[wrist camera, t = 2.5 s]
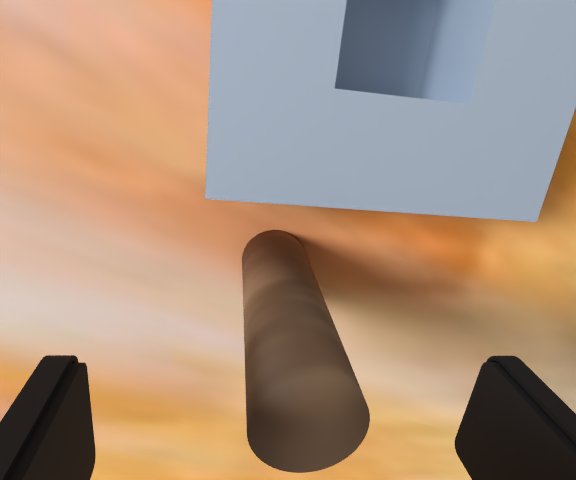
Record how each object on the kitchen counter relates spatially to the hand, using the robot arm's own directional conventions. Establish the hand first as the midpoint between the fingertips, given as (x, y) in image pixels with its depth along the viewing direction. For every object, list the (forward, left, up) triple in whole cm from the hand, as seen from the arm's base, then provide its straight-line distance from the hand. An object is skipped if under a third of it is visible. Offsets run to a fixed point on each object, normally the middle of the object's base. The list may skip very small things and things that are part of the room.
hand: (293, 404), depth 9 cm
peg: (0, +1, -10) cm, 10 cm away
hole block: (-3, -9, -10) cm, 14 cm away
